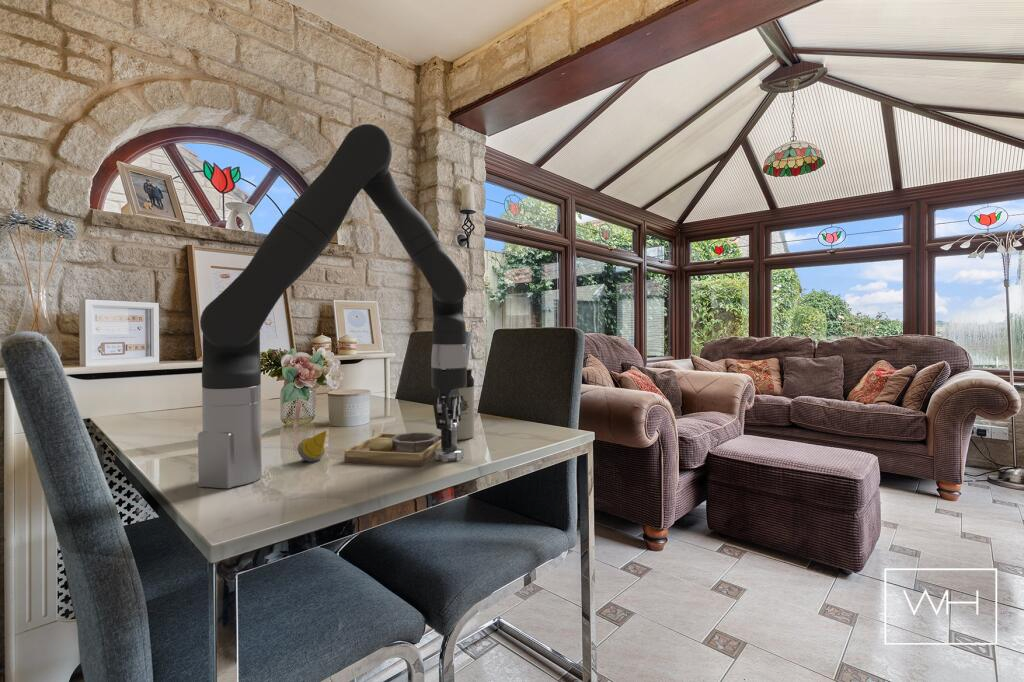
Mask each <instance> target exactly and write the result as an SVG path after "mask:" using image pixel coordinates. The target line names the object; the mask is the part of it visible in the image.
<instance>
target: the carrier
mask: <svg viewBox="0 0 1024 682" xmlns="http://www.w3.org/2000/svg"><path fill="white" fill-rule="evenodd" d="M440 448H442V447H441V435H437V434H435V433H432V432H415V431H413V432H406V433H379V434H376V435H374V436H372V437H370V438H368V439H366V440H364V441H362V442H360V443H358V444H355V445H353V446H351V447H349V448H347V449H345V450H344V453H343V454H344V455H343V456H344V463H354V464H371V465H372V464H373V465H392V466H393V465H394V466H410V467H413V466H414V467H423V466H424V465H426V464H427V463H428V462H430V461H432V460H433V459H435V451H437V450H438V449H440Z"/></svg>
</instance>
